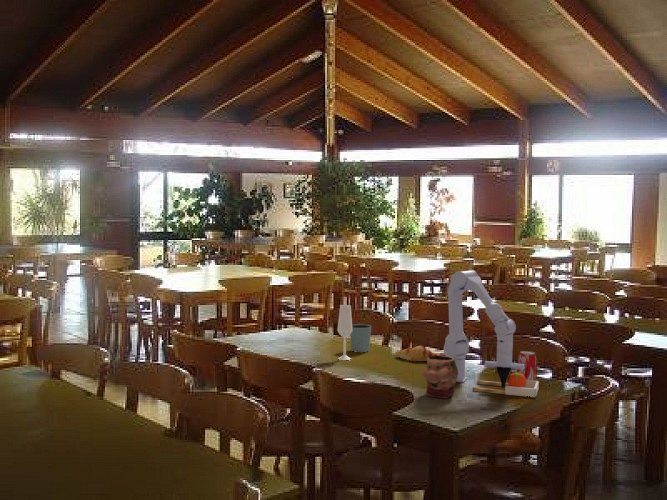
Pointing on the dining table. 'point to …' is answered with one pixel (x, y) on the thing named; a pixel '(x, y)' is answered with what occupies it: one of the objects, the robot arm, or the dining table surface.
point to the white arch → (524, 389)
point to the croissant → (415, 354)
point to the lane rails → (489, 389)
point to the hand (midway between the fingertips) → (503, 387)
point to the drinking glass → (360, 337)
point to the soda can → (527, 364)
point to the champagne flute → (345, 327)
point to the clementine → (517, 380)
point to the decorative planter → (440, 376)
